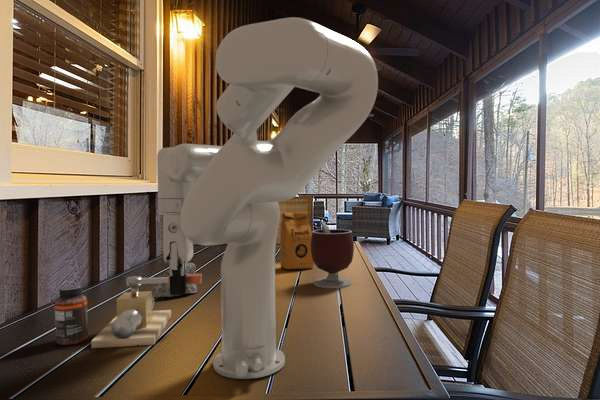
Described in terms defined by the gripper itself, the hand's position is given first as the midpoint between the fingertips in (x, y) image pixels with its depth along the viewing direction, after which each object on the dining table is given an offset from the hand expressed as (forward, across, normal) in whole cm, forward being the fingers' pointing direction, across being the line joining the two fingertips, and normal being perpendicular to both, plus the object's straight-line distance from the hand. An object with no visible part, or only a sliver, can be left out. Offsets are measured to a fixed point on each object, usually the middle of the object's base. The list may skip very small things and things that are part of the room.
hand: (178, 293), depth 88 cm
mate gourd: (+10, +42, -42) cm, 61 cm away
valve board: (+9, +6, +10) cm, 15 cm away
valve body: (+8, +6, +10) cm, 14 cm away
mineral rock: (+10, +36, +6) cm, 38 cm away
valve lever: (-1, +6, +4) cm, 7 cm away
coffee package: (+10, +70, -34) cm, 78 cm away
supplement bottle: (+10, +1, +22) cm, 24 cm away
